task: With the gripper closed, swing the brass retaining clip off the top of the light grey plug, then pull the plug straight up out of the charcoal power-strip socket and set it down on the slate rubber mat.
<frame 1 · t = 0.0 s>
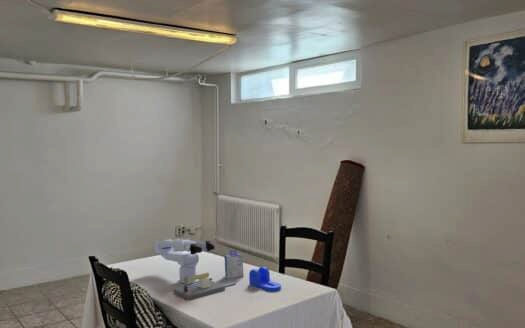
hand: (207, 248, 244), 22 cm above the table, tool horizontal, fingers open, 7 cm apart
clip: (196, 281, 242), point 6 cm above the table, hinge at 0.0°
plug: (204, 290, 245), resting in power strip
bracket: (266, 287, 249), on the table
mat: (223, 284, 254), on the table
power strip: (199, 291, 243), on the table
ink cartridge box: (234, 276, 269), on the table
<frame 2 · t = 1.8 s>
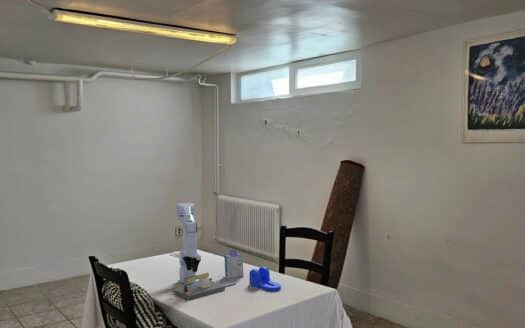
hand: (192, 271, 246), 10 cm above the table, tool pointing down, fingers open, 5 cm apart
nothing on the table moved.
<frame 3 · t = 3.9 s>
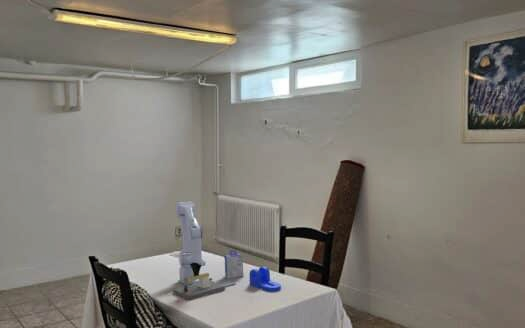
hand: (196, 277, 243), 8 cm above the table, tool pointing down, fingers closed, pressing on clip
clip: (196, 281, 242), point 6 cm above the table, hinge at -0.8°, touching gripper
everything else where it was.
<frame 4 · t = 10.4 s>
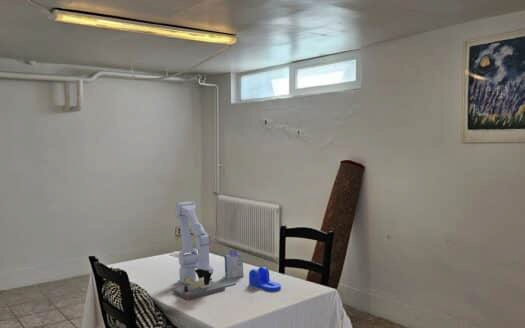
hand: (204, 283, 245), 3 cm above the table, tool pointing down, fingers closed on plug, 4 cm apart
clip: (193, 287, 233), point 6 cm above the table, hinge at -85.5°
plug: (204, 290, 245), resting in power strip, touching gripper
everything else where it was.
when the fingers open (6 cm above the table, at t = 14.0 s): plug drops 1 cm, resting on mat.
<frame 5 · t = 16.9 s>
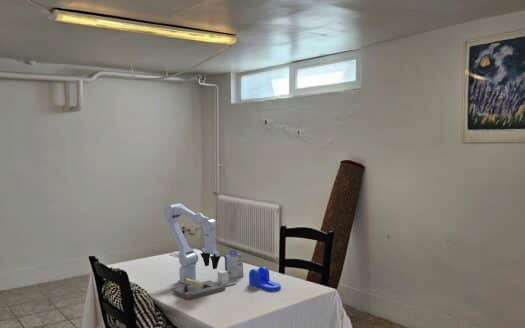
hand: (210, 267, 252), 10 cm above the table, tool pointing down, fingers open, 7 cm apart
plug: (223, 283, 254), point 1 cm above the table, touching mat
everything else where it was.
at the end: clip at -86° (first picture: +0°); plug inside the target area on the mat (0.5 cm from its centre), point 0.6 cm above the mat's base; plug tilted 0° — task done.
